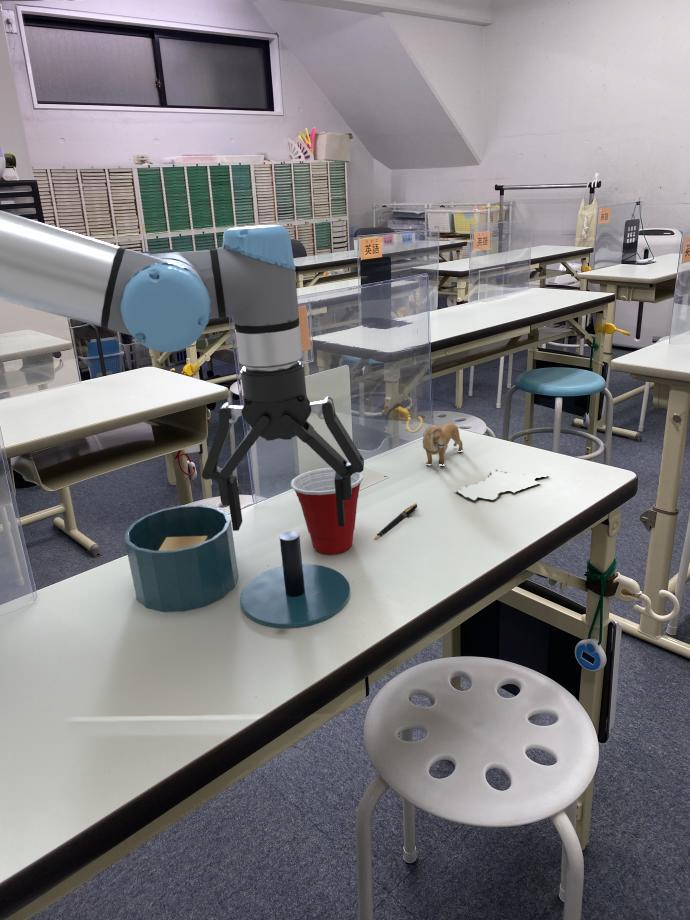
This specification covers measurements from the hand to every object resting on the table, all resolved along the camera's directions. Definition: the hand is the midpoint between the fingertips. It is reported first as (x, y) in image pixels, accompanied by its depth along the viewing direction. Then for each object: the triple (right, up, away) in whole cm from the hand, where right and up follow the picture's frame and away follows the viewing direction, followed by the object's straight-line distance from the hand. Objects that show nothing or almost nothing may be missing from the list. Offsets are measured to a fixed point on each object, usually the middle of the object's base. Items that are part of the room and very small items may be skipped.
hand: (289, 524), depth 89 cm
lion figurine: (+27, +8, +47) cm, 55 cm away
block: (-15, -9, +9) cm, 20 cm away
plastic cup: (+5, -5, +17) cm, 18 cm away
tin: (-15, -10, +9) cm, 20 cm away
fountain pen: (+16, -2, +23) cm, 28 cm away
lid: (0, -10, +4) cm, 11 cm away
